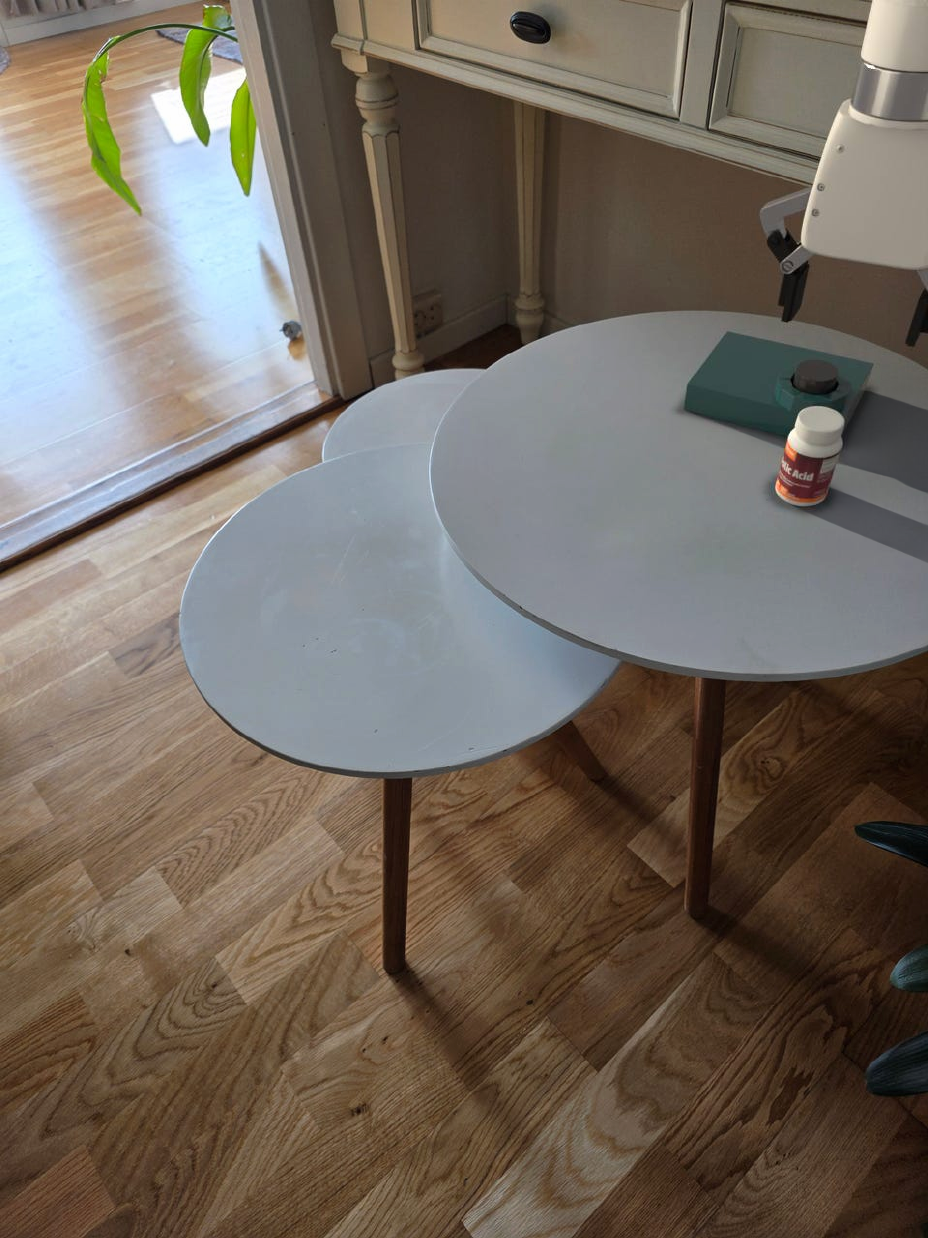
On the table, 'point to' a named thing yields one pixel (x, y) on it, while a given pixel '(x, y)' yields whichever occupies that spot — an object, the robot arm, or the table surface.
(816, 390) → the dark grey push button
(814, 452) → the pill bottle
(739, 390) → the teal rectangular block
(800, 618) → the table surface
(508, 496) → the table surface
